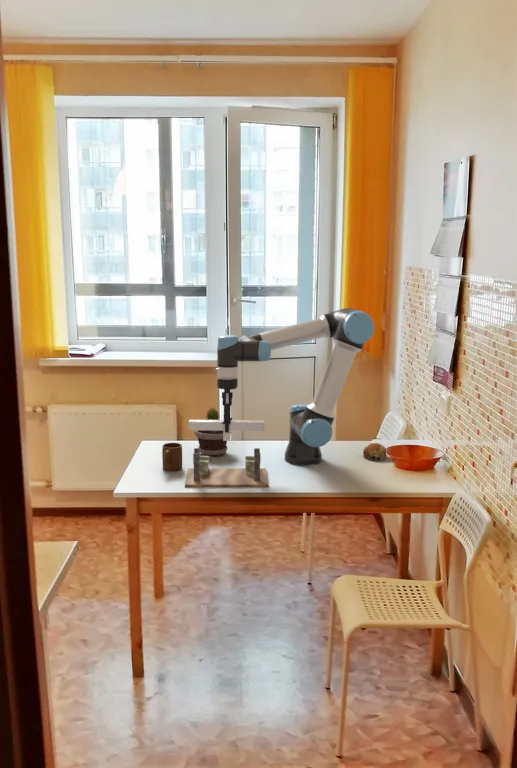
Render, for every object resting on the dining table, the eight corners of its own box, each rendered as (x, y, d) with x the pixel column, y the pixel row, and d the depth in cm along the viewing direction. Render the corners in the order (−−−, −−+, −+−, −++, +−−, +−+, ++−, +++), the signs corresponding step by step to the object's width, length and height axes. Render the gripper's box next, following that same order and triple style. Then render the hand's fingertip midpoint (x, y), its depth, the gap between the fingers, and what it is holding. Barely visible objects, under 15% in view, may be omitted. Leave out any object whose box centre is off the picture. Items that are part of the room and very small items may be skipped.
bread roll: (388, 466, 275) (392, 447, 277) (380, 461, 267) (384, 442, 268) (366, 461, 280) (370, 443, 282) (357, 457, 272) (362, 438, 273)
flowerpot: (230, 459, 269) (230, 411, 265) (192, 458, 269) (192, 411, 265) (232, 449, 283) (232, 403, 279) (196, 448, 283) (196, 402, 279)
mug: (175, 476, 248) (175, 452, 246) (156, 474, 249) (155, 450, 247) (184, 466, 260) (184, 443, 258) (166, 464, 261) (165, 441, 259)
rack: (265, 470, 255) (266, 440, 253) (268, 487, 238) (269, 455, 235) (187, 470, 254) (187, 440, 252) (184, 487, 236) (184, 455, 234)
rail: (263, 428, 250) (264, 420, 249) (264, 430, 246) (264, 422, 246) (189, 427, 248) (189, 419, 248) (188, 430, 245) (188, 421, 244)
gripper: (217, 373, 251) (217, 433, 256) (216, 381, 235) (216, 445, 240) (237, 373, 252) (236, 433, 256) (237, 381, 236) (237, 445, 240)
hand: (226, 438), depth 248 cm, fingers closed on rail, 3 cm apart
